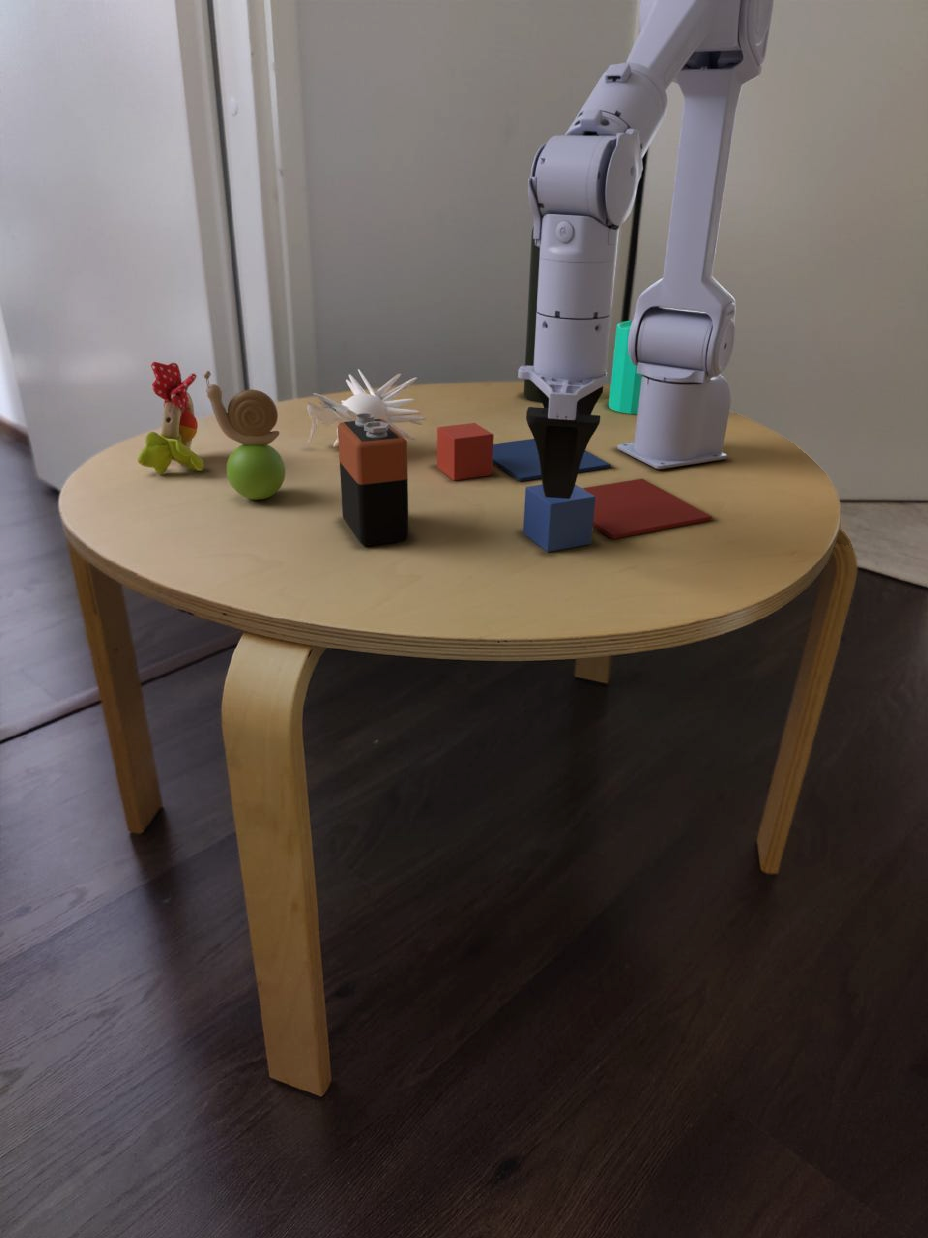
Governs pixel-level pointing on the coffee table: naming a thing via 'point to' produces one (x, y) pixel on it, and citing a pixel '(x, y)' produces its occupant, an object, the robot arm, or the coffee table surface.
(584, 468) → the blue mat
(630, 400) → the candle
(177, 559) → the coffee table surface
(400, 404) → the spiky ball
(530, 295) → the wine bottle
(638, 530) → the red mat
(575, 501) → the blue block
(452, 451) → the red block
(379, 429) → the battery
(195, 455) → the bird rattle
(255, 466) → the snail figurine
